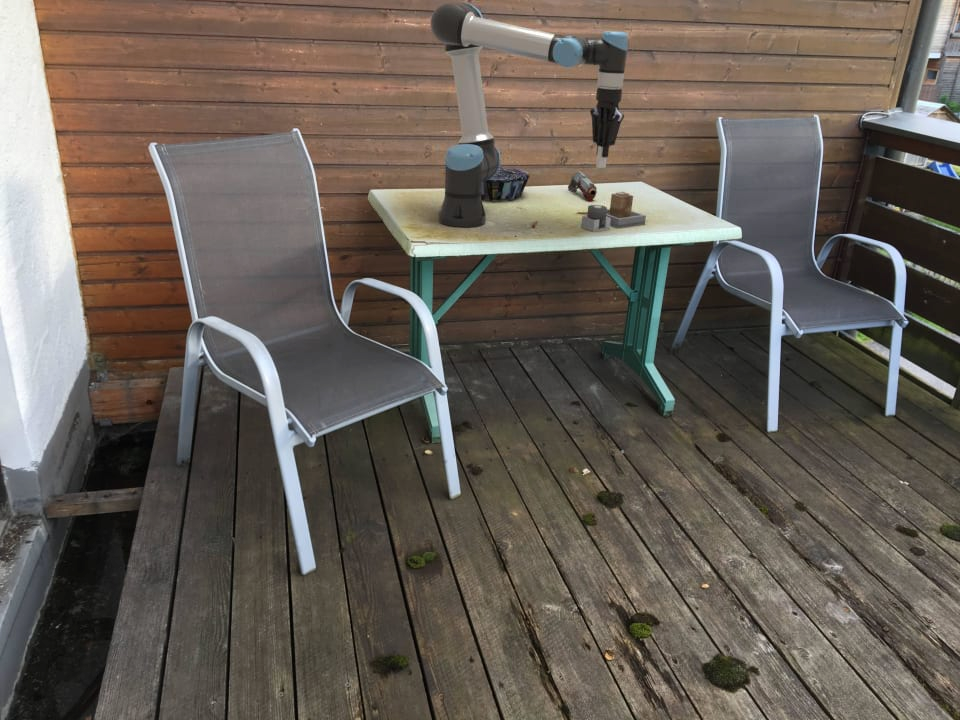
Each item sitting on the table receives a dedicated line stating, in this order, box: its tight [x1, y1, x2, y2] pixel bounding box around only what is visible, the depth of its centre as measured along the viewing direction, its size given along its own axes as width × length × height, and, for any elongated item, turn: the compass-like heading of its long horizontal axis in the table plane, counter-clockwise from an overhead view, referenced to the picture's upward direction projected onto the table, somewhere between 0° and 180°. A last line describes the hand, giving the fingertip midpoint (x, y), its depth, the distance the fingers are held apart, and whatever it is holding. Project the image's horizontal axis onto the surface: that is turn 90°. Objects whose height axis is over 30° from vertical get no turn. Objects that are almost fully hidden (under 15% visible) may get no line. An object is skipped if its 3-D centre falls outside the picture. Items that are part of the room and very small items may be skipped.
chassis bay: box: [606, 208, 647, 229], centre depth 256 cm, size 12×12×3 cm
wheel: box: [586, 204, 608, 219], centre depth 247 cm, size 6×6×6 cm
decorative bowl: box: [481, 166, 531, 202], centre depth 284 cm, size 26×28×10 cm
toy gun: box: [567, 170, 598, 202], centre depth 289 cm, size 4×20×10 cm, turn 17°
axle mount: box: [580, 215, 611, 233], centre depth 247 cm, size 7×6×4 cm
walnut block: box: [609, 191, 634, 218], centre depth 255 cm, size 5×5×9 cm
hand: (600, 167), depth 240 cm, fingers closed
